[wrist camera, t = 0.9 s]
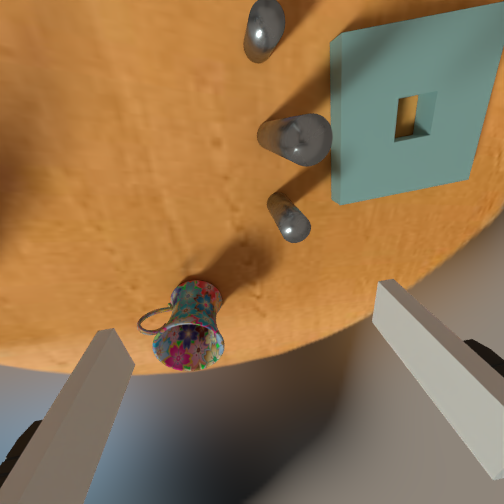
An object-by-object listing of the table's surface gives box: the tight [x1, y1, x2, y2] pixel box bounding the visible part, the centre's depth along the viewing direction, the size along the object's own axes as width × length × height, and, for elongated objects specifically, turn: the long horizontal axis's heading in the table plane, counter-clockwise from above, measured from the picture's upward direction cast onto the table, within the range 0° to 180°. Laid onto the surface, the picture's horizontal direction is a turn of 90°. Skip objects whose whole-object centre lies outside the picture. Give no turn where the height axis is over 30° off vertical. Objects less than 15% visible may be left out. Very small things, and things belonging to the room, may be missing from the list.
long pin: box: [257, 114, 333, 166], centre depth 23 cm, size 3×3×16 cm
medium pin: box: [267, 193, 311, 243], centre depth 30 cm, size 3×3×10 cm
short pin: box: [244, 0, 285, 63], centre depth 23 cm, size 3×3×6 cm
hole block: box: [330, 1, 504, 205], centre depth 29 cm, size 18×18×3 cm
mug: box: [137, 280, 224, 371], centre depth 35 cm, size 12×9×11 cm
